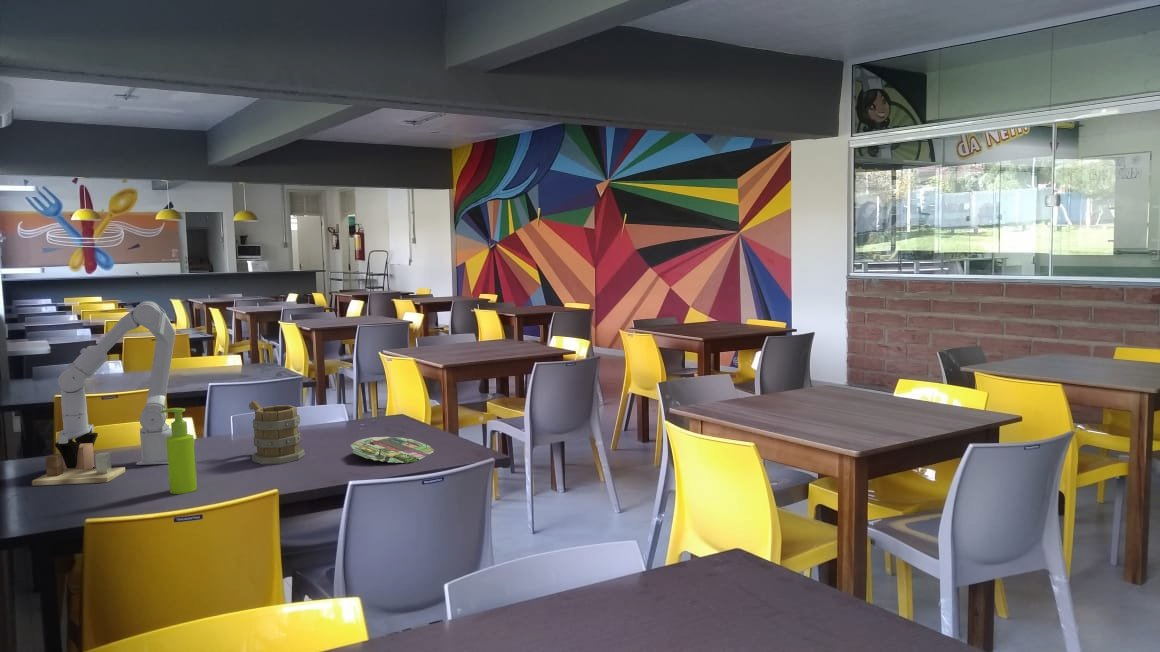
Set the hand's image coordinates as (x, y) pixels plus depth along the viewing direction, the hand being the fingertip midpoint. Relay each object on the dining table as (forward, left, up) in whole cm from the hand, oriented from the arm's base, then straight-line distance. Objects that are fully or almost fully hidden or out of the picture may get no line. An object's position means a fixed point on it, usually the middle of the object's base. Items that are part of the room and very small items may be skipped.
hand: (78, 464), depth 222 cm
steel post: (-10, +9, 0) cm, 14 cm away
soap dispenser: (-36, +25, -2) cm, 43 cm away
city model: (-83, -1, -2) cm, 83 cm away
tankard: (-49, -6, -2) cm, 49 cm away
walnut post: (+1, +9, 0) cm, 9 cm away
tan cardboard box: (0, 0, -2) cm, 2 cm away
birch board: (-5, +9, -2) cm, 10 cm away
